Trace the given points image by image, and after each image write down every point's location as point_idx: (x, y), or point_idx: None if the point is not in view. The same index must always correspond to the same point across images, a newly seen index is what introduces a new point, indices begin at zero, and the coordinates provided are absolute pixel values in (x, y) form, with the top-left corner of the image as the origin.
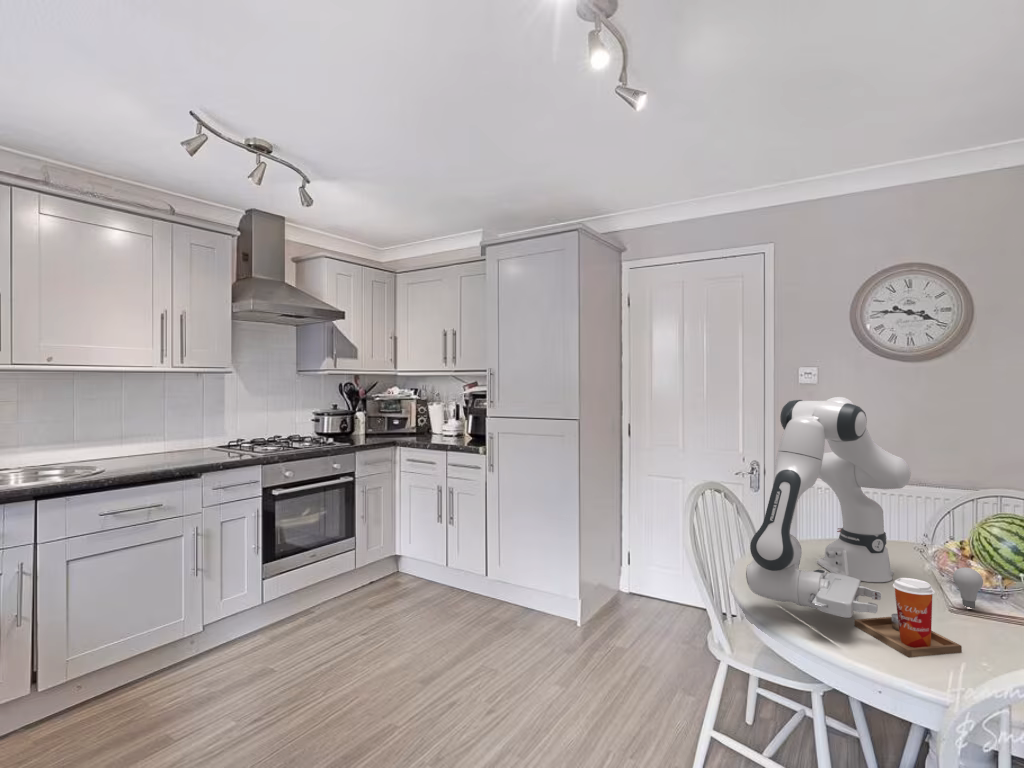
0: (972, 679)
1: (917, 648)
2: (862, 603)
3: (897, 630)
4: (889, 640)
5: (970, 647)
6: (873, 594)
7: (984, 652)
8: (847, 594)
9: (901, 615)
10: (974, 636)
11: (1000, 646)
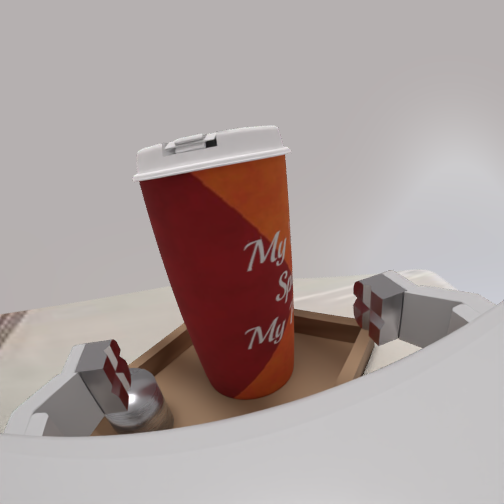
0: (334, 280)
1: (337, 319)
2: (449, 291)
3: (172, 426)
4: (354, 376)
5: (164, 320)
6: (114, 376)
7: (176, 305)
8: (499, 350)
9: (285, 284)
10: (97, 327)
11: (129, 302)
